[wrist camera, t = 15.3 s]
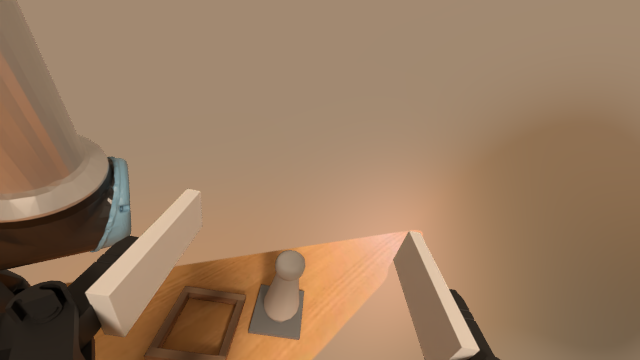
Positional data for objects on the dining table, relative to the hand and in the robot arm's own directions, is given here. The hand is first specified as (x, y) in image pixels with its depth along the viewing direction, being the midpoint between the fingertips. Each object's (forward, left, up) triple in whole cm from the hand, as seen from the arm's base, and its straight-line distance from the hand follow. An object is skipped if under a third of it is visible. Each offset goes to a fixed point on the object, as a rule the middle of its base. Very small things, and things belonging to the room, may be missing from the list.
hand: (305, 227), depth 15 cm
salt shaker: (0, +12, -30) cm, 32 cm away
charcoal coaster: (0, +12, -30) cm, 32 cm away
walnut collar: (-11, +8, -30) cm, 33 cm away
